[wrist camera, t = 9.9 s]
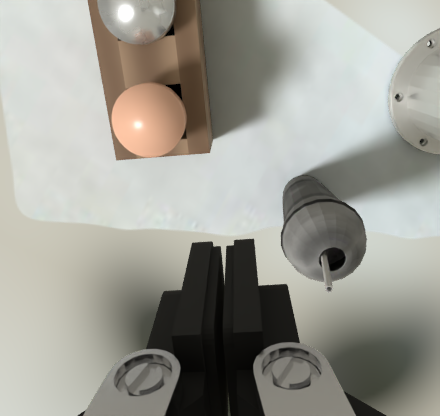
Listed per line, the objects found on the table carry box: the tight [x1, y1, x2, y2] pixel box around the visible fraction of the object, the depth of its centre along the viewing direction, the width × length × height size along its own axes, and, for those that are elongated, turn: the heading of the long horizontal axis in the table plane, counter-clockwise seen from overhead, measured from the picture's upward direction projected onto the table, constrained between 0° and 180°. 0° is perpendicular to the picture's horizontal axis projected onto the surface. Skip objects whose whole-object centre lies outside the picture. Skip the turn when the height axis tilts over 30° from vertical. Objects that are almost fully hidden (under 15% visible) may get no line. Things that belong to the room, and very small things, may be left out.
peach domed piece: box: [112, 82, 187, 157], centre depth 38 cm, size 6×6×8 cm
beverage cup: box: [281, 175, 367, 292], centre depth 38 cm, size 7×7×20 cm
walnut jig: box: [88, 0, 213, 160], centre depth 40 cm, size 9×17×6 cm, turn 5°
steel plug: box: [97, 0, 177, 44], centre depth 37 cm, size 6×6×8 cm
